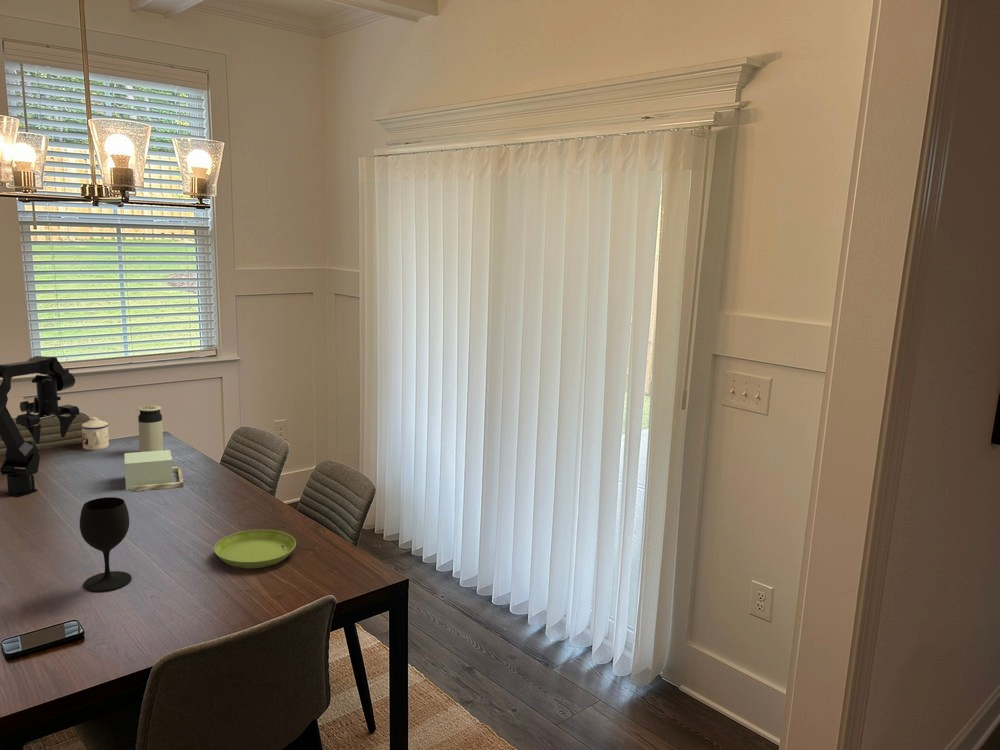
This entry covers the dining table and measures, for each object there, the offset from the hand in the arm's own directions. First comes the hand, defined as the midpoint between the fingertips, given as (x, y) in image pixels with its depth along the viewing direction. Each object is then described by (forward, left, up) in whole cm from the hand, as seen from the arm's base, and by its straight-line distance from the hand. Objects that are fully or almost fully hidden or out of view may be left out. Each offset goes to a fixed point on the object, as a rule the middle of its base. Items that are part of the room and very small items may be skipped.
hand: (50, 440), depth 243 cm
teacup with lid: (+31, +16, -13) cm, 37 cm away
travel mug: (+35, -7, -13) cm, 38 cm away
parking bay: (+14, -31, -13) cm, 37 cm away
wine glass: (-46, -76, -13) cm, 90 cm away
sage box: (+12, -30, -13) cm, 34 cm away
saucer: (-18, -97, -14) cm, 100 cm away
